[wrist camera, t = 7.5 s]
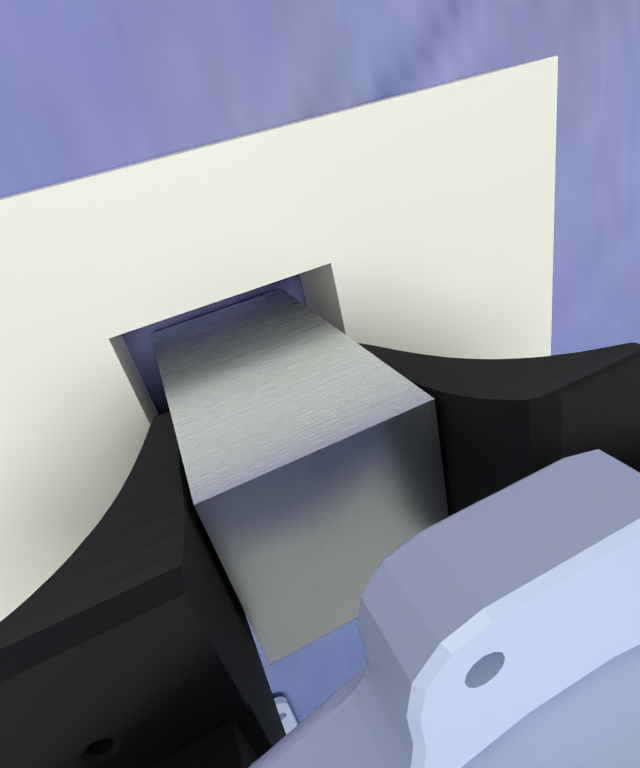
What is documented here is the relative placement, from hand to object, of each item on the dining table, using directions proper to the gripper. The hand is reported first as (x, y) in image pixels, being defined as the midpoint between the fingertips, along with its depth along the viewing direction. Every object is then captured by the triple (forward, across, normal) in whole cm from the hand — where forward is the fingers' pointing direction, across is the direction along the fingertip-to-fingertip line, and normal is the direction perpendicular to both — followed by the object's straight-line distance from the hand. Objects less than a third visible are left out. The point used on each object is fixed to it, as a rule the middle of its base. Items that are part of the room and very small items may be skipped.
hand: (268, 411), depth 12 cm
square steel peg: (+3, 0, 0) cm, 3 cm away
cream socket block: (+4, 0, 0) cm, 4 cm away
